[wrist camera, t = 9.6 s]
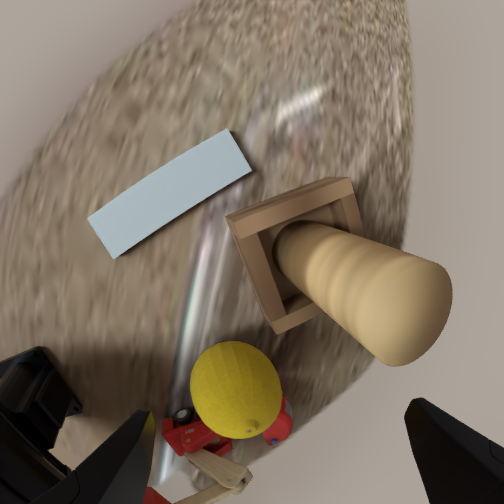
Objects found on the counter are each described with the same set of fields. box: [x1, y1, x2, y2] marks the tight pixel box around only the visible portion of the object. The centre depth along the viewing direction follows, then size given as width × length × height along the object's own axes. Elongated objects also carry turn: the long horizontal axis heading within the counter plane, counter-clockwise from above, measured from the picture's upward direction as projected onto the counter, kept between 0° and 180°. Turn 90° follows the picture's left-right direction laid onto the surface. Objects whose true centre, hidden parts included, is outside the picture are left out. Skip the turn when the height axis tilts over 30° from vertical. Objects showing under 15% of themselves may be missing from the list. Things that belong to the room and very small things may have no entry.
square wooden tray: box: [225, 177, 366, 335], centre depth 19 cm, size 8×8×3 cm
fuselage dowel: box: [272, 220, 452, 367], centre depth 15 cm, size 4×4×11 cm
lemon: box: [190, 341, 282, 439], centre depth 18 cm, size 6×6×8 cm
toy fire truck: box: [143, 392, 293, 504], centre depth 18 cm, size 3×14×10 cm, turn 108°
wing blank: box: [88, 129, 252, 259], centre depth 18 cm, size 10×3×1 cm, turn 120°
